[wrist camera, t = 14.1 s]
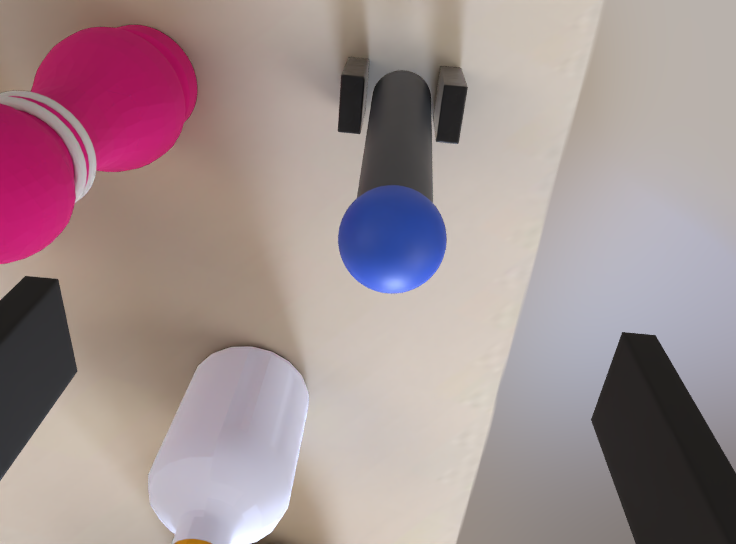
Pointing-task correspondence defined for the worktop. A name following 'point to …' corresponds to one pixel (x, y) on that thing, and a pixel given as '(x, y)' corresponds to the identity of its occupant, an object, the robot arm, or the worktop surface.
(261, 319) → the worktop surface
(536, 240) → the worktop surface
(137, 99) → the pepper mill
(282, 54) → the worktop surface
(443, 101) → the clip
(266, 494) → the soap bottle
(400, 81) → the microphone
